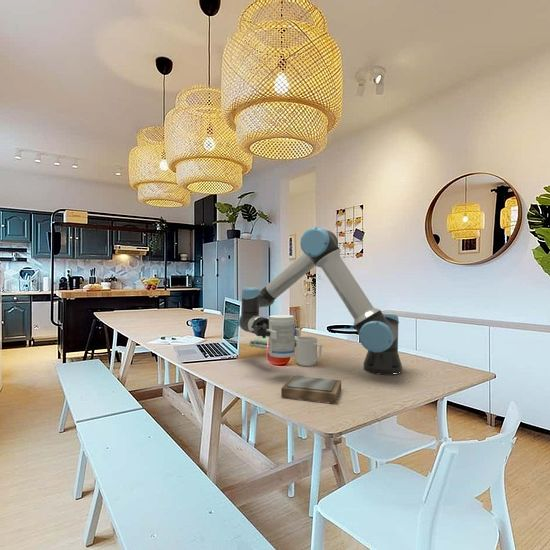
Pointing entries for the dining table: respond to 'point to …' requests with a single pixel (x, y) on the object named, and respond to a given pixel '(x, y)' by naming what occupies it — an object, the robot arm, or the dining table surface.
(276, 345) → the supplement tub
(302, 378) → the dock
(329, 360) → the dining table surface
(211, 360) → the dining table surface
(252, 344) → the towel
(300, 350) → the mug
